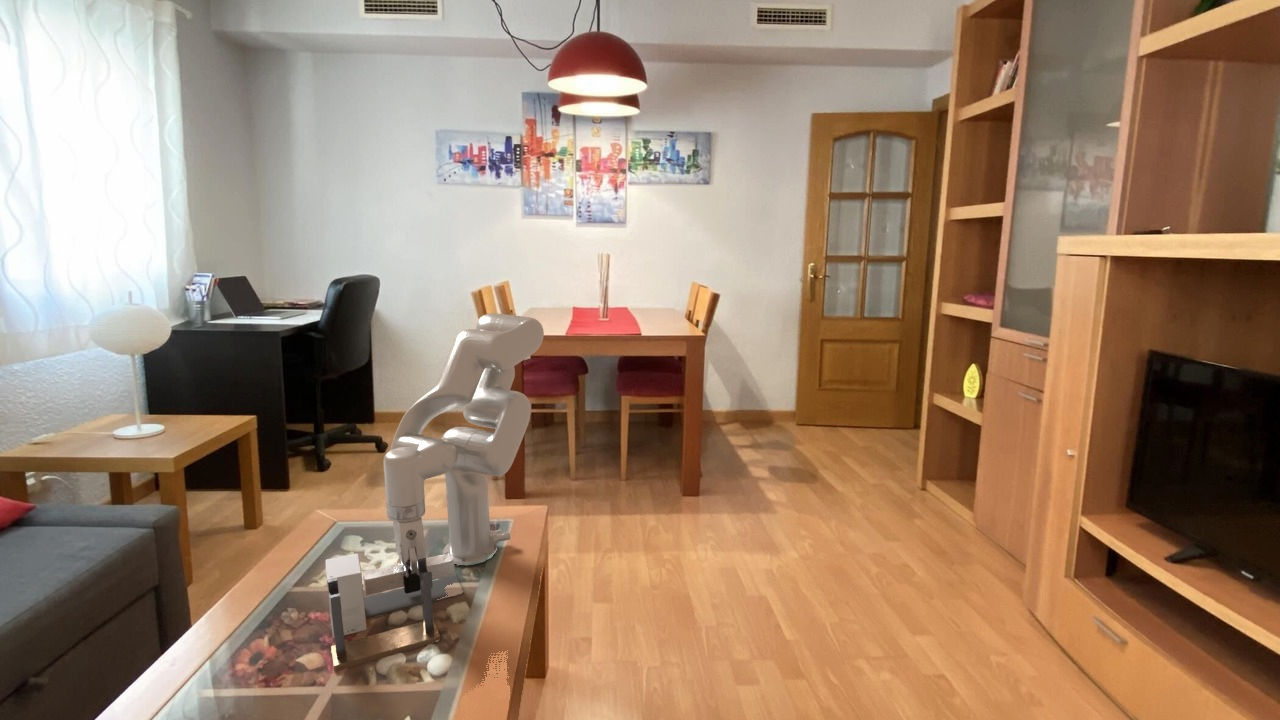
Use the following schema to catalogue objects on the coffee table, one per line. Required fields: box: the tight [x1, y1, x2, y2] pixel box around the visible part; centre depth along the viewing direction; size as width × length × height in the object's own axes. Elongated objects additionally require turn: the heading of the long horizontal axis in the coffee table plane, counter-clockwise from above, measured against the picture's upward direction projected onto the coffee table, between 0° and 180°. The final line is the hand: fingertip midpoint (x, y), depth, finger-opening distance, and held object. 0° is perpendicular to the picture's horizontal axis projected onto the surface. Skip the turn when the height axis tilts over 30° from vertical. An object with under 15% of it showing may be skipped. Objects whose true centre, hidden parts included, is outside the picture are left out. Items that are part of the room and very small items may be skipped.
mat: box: [364, 574, 458, 620], centre depth 148 cm, size 20×7×1 cm, turn 118°
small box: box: [325, 553, 367, 639], centre depth 138 cm, size 8×6×13 cm
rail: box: [362, 553, 456, 596], centre depth 146 cm, size 18×4×4 cm, turn 118°
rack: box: [327, 557, 441, 672], centre depth 131 cm, size 19×6×15 cm, turn 118°
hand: (410, 585), depth 147 cm, fingers closed on rail, 3 cm apart
